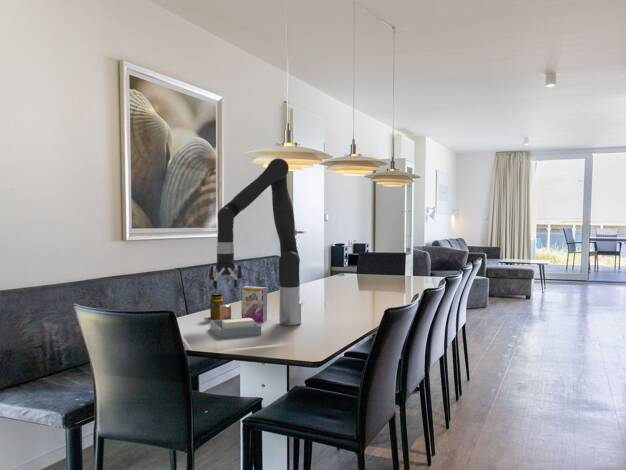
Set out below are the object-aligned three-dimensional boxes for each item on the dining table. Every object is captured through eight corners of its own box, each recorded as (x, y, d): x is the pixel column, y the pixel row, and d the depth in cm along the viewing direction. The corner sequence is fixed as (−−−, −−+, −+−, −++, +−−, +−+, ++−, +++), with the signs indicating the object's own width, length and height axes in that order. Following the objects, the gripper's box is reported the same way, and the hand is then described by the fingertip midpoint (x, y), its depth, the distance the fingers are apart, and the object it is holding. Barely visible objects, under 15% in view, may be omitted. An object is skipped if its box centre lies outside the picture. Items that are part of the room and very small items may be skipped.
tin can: (229, 324, 232) (229, 304, 232) (232, 326, 227) (232, 306, 227) (218, 325, 230) (218, 305, 230) (221, 327, 225) (221, 306, 225)
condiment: (226, 319, 243) (226, 294, 243) (209, 321, 239) (209, 295, 238) (220, 316, 249) (220, 292, 249) (203, 318, 245) (203, 293, 244)
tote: (248, 327, 225) (248, 317, 225) (261, 336, 208) (261, 326, 208) (210, 331, 218) (210, 320, 218) (220, 341, 201) (219, 329, 201)
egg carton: (250, 331, 214) (250, 317, 213) (254, 334, 209) (254, 320, 209) (221, 334, 209) (221, 320, 209) (224, 336, 204) (224, 322, 204)
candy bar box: (240, 322, 236) (240, 287, 235) (245, 320, 240) (245, 285, 240) (262, 324, 232) (262, 288, 231) (267, 322, 237) (267, 287, 236)
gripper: (211, 253, 221) (211, 290, 222) (243, 252, 227) (242, 288, 227) (207, 251, 228) (207, 288, 229) (238, 251, 234) (238, 286, 234)
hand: (225, 288), depth 228 cm, fingers open, 8 cm apart
